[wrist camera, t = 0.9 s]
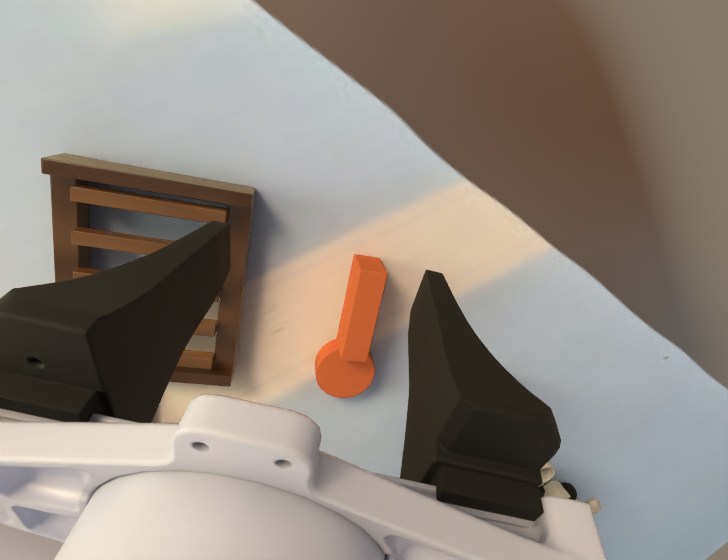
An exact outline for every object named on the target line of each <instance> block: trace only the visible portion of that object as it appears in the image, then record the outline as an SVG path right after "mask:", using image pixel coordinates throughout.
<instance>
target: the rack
mask: <svg viewBox="0 0 728 560" xmlns="http://www.w3.org/2000/svg"><path fill="white" fill-rule="evenodd" d="M41 170H42V173H43V174H49V175H50V182H51V203H52V223H53V243H54V264H55V282H60V281H65V280H70V279H75V278H79V277H83V276H87V275H91V274H94V273H98V272H101V271H104V270H97V269H90V249H89V247H95V248H102V249H110V250H117V251H124V252H131V253H139V254H146V255H149V254H151V253H153V252H155V251H157V250H159V249H161V248H163V247H165V246H167V245H170V244H171V243H173V242H175V241H171V240H164V239H158V238H151V237H144V236H137V235H130V234H123V233H116V232H110V231H103V230H96V229H89V204H93V205H99V206H106V207H112V208H118V209H125V210H131V211H138V212H144V213H150V214H157V215H163V216H169V217H176V218H182V219H189V220H195V221H201V222H208V223H210V222H212V221H213V220H214V221H219V222H223V223H226V222H227V224H231V226H230V271H229V273H228V276H227V278H226V280H225V282H224V285H223V287H222V289H221V293H219V294H218V296H217V298H216V299H215V302H218V300H219V297H220V304H219V314H218V324H217V320H212V319H202V321H201V323H200V324H199V326H198V327H197V329H196V330H195V332H194V333H193V334H195V335H204V336H215V334H216V331H217V335H216V345H215V355H214V353H212V352H201V351H191V350H184V351H183V353H182V355H181V357H180V359H179V361H178V364H177V366H176V368H175V370H174V372H173V374H172V376H171V379H170V381H169V382H180V383H193V384H205V385H218V386H231V381H232V377H233V373H234V369H235V361H236V352H237V344H238V335H239V327H240V318H241V310H242V301H243V293H244V284H245V276H246V267H247V258H248V250H249V241H250V233H251V224H252V216H253V207H254V199H255V190H256V189H255V188H254V187H249V186H243V185H237V184H232V183H226V182H220V181H215V180H209V179H204V178H198V177H192V176H187V175H181V174H175V173H170V172H164V171H159V170H153V169H147V168H142V167H136V166H130V165H125V164H119V163H114V162H108V161H102V160H97V159H91V158H86V157H80V156H74V155H69V154H58V155H53V156H49V157H44V158H41ZM88 181H90V182H96V183H102V184H108V185H114V186H120V187H126V188H132V189H138V190H144V191H150V192H156V193H162V194H168V195H174V196H180V197H186V198H192V199H198V200H204V201H210V202H216V203H222V204H228V205H229V211H228V209H227V208H221V207H214V206H208V205H202V204H196V203H190V202H184V201H178V200H172V199H166V198H160V197H154V196H148V195H142V194H136V193H130V192H124V191H118V190H112V189H106V188H99V187H93V186H88ZM227 218H228V221H227Z"/></svg>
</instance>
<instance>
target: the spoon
mask: <svg viewBox="0 0 728 560" xmlns="http://www.w3.org/2000/svg"><path fill="white" fill-rule="evenodd" d="M387 275H388V273H387V271H386V269H385V268H384V266H383V264H382V262H381V260H380V259H379V258H375V257H368V256H362V255H354V258H353V263H352V267H351V272H350V277H349V282H348V287H347V291H346V296H345V301H344V306H343V311H342V315H341V320H340V325H339V330H338V335H337V339H335V340H333V341H330V342H329V343H327V344H326V345H324V346H323V347H322V348H321V350H320V351H319V353H318V354H317V357H316V360H315V370H316V379H317V383H318V385H319V386H320V388H321V389H322V390H323V391H324V392H326V393H327V394H329V395H331V396H334V397H339V398H348V397H352V396H355V395H358V394H360V393H361V392H363V391H364V390H365V389H367V388H368V386H369V385H370V384H371V382H372V380H373V378H374V374H375V367H374V363H373V360H372V357H371V353H370V351H369V350H370V346H371V342H372V337H373V333H374V329H375V325H376V321H377V317H378V313H379V308H380V304H381V300H382V296H383V292H384V288H385V284H386V279H387Z"/></svg>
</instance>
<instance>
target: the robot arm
mask: <svg viewBox="0 0 728 560" xmlns="http://www.w3.org/2000/svg"><path fill="white" fill-rule="evenodd" d="M230 226H231V224H227V223H223V222H219V221H214V220H213V221H212V222H210V223H208V224H206V225H204V226H202V227H201V228H199V229H197V230H195V231H193V232H192V233H190V234H188V235H186V236H184V237H183V238H181V239H179V240H177V241H175V242H173V243H171V244H170V245H167V246H165V247H163V248H161V249H159V250H157V251H155V252H153V253H151V254H149V255H146V256H144V257H142V258H139V259H137V260H134V261H132V262H129V263H126V264H123V265H121V266H118V267H115V268H111V269H108V270H105V271H101V272H98V273H94V274H91V275H87V276H83V277H79V278H75V279H70V280H65V281H60V282H55V283H49V284H43V285H36V286H29V287H22V288H14V289H12V290H11V291H9V292H8V293H7V294H6V295H4V296H3V297H2V298H1V299H0V560H606V558H605V554H604V551H603V547H602V544H601V541H600V537H599V534H598V531H597V527H596V524H595V521H594V517H593V514H592V511H591V507H590V505H589V504H588V503H585V502H581V501H576V500H571V499H567V498H562V497H557V496H544V497H542V498H541V496H540V491H539V486H540V485H541V484H542V481H543V480H542V476H541V471H540V470H541V469H542V467H543V466H544V465H545V464H546V463H547V462H548V461H549V460H550V459H551V458H552V457H553V456H554V455H555V454H556V452H557V451H558V449H559V448H560V443H561V439H560V435H559V432H558V428H557V424H556V421H555V418H554V415H553V413H552V410H551V408H550V407H549V406H548V405H546V404H545V403H544V402H542V401H541V400H540V399H539V398H537V397H536V396H535V395H533V394H532V393H531V392H530V391H528V390H527V389H526V388H525V387H524V386H523V385H522V384H520V383H519V382H518V381H517V380H516V379H515V378H514V377H513V376H512V375H511V374H510V373H509V372H508V371H507V370H506V369H505V368H504V367H503V366H502V365H501V364H500V363H499V362H498V361H497V360H496V359H495V358H494V356H493V355H492V354H491V353H490V352H489V351H488V349H487V348H486V347H485V345H484V344H483V343H482V342H481V340H480V339H479V338H478V336H477V335H476V334H475V332H474V331H473V329H472V328H471V326H470V325H469V323H468V321H467V320H466V318H465V316H464V315H463V313H462V311H461V309H460V307H459V306H458V304H457V302H456V300H455V298H454V296H453V294H452V292H451V290H450V288H449V286H448V284H447V282H446V280H445V278H444V276H443V274H442V273H438V272H434V271H430V270H426V271H425V274H424V276H423V279H422V282H421V284H420V287H419V290H418V292H417V295H416V298H415V300H414V303H413V306H412V308H411V313H410V321H409V331H408V354H409V400H408V411H407V422H406V432H405V442H404V450H403V459H402V467H401V475H400V478H396V477H391V476H386V475H382V474H377V473H372V472H369V471H367V470H365V469H362V468H360V467H358V466H355V465H353V464H351V463H348V462H346V461H344V460H341V459H339V458H337V457H334V456H332V455H330V454H327V453H325V452H322V451H320V450H319V446H320V442H321V432H320V427H319V426H318V425H317V424H316V423H315V422H314V421H313V420H312V419H310V418H309V417H308V416H306V415H303V414H301V413H298V412H296V411H292V410H288V409H283V408H279V407H274V406H269V405H265V404H260V403H256V402H251V401H246V400H242V399H237V398H233V397H228V396H223V395H212V394H205V395H202V396H199V397H197V398H194V399H192V400H191V402H190V404H189V406H188V408H187V410H186V411H185V413H184V415H183V417H182V419H181V421H180V423H152V420H153V417H154V415H155V413H156V410H157V408H158V406H159V403H160V401H161V399H162V396H163V394H164V392H165V389H166V387H167V385H168V383H169V381H170V379H171V376H172V374H173V372H174V370H175V368H176V366H177V364H178V361H179V359H180V357H181V355H182V353H183V351H184V349H185V347H186V345H187V344H188V342H189V340H190V338H191V337H192V335H193V333H194V332H195V330H196V329H197V327H198V326H199V324H200V323H201V321H202V319H203V318H204V316H205V315H206V313H207V312H208V310H209V309H210V307H211V305H212V304H213V302H214V301H215V299H216V298H217V296H218V294H219V293H220V291H221V289H222V287H223V285H224V282H225V280H226V278H227V276H228V273H229V271H230Z"/></svg>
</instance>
